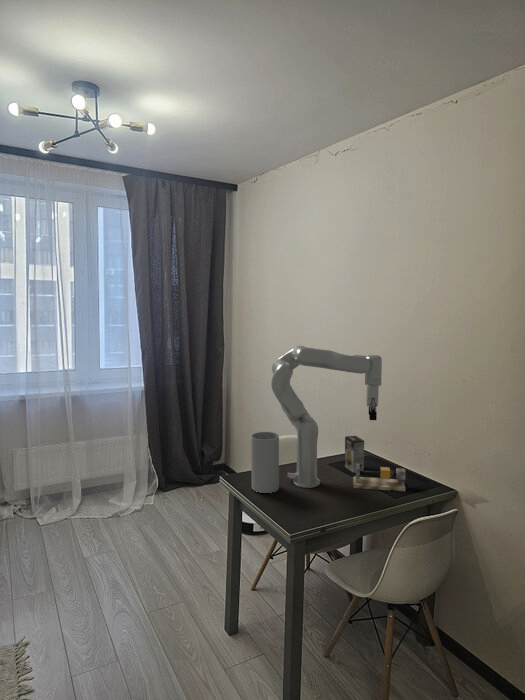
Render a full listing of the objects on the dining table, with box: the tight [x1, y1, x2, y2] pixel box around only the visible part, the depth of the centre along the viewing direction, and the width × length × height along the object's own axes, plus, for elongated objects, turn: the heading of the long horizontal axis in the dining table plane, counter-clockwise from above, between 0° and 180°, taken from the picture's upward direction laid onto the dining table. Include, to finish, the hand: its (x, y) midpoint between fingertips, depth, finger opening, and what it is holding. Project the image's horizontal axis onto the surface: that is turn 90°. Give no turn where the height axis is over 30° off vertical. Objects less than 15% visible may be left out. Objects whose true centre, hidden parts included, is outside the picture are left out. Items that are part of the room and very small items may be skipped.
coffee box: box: [344, 435, 365, 474], centre depth 233 cm, size 9×6×16 cm
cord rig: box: [352, 464, 407, 492], centre depth 213 cm, size 23×10×9 cm, turn 79°
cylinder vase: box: [250, 431, 280, 494], centre depth 209 cm, size 12×12×25 cm
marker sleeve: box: [379, 466, 391, 480], centre depth 212 cm, size 4×4×4 cm
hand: (372, 417), depth 217 cm, fingers open, 9 cm apart
